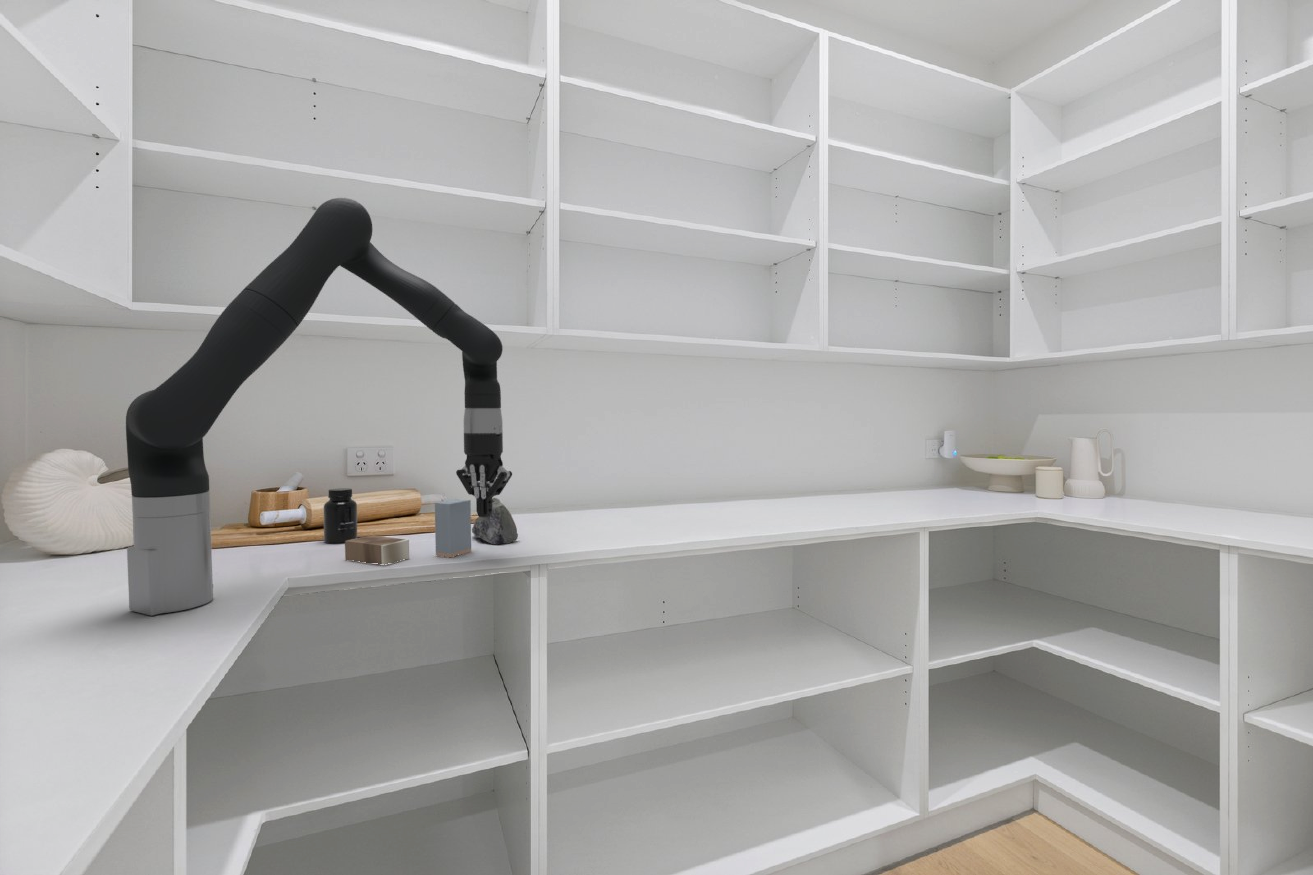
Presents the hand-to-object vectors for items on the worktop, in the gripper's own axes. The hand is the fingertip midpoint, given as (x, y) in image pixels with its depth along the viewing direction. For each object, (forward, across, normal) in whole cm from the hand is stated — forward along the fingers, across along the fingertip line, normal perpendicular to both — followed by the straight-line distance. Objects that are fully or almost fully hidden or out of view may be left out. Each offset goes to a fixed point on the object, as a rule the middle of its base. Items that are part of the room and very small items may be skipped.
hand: (484, 516), depth 120 cm
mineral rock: (+9, -10, +15) cm, 20 cm away
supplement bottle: (+9, -41, -1) cm, 42 cm away
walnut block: (+7, -13, -10) cm, 18 cm away
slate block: (+8, -8, 0) cm, 12 cm away
